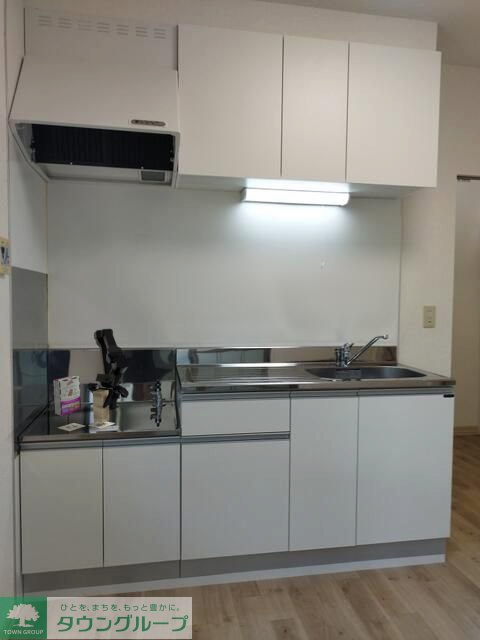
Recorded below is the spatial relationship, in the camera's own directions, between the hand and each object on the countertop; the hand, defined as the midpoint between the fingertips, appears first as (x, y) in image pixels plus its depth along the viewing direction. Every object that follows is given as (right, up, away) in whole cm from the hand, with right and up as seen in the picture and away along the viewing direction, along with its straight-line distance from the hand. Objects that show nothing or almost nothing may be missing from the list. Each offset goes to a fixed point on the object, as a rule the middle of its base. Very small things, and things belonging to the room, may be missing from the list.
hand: (98, 407), depth 192 cm
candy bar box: (-21, -7, +20) cm, 30 cm away
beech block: (+1, -6, +2) cm, 7 cm away
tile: (-11, -8, -1) cm, 14 cm away
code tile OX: (+1, -8, +2) cm, 8 cm away
